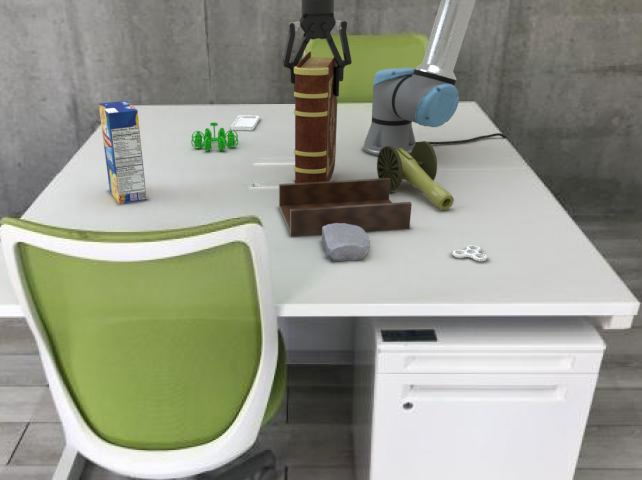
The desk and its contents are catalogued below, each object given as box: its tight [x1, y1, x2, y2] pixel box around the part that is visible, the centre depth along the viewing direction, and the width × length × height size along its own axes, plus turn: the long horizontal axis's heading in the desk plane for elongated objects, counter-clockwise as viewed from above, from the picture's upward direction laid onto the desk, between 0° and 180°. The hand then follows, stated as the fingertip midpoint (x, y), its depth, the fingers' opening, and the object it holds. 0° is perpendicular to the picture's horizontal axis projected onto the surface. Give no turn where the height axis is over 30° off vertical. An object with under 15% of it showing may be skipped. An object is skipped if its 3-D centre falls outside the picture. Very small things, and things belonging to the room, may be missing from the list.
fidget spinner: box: [451, 244, 488, 262], centre depth 150 cm, size 7×6×1 cm
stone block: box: [321, 223, 371, 262], centre depth 152 cm, size 12×5×10 cm
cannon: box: [376, 140, 455, 211], centre depth 179 cm, size 25×12×11 cm, turn 23°
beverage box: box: [98, 100, 148, 205], centre depth 178 cm, size 7×11×22 cm, turn 24°
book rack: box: [278, 177, 413, 237], centre depth 167 cm, size 27×18×6 cm, turn 98°
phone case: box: [230, 114, 261, 131], centre depth 242 cm, size 7×1×15 cm
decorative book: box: [293, 51, 339, 183], centre depth 181 cm, size 22×8×30 cm, turn 169°
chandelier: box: [190, 122, 239, 153], centre depth 219 cm, size 15×15×7 cm
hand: (316, 96), depth 178 cm, fingers closed on decorative book, 9 cm apart
